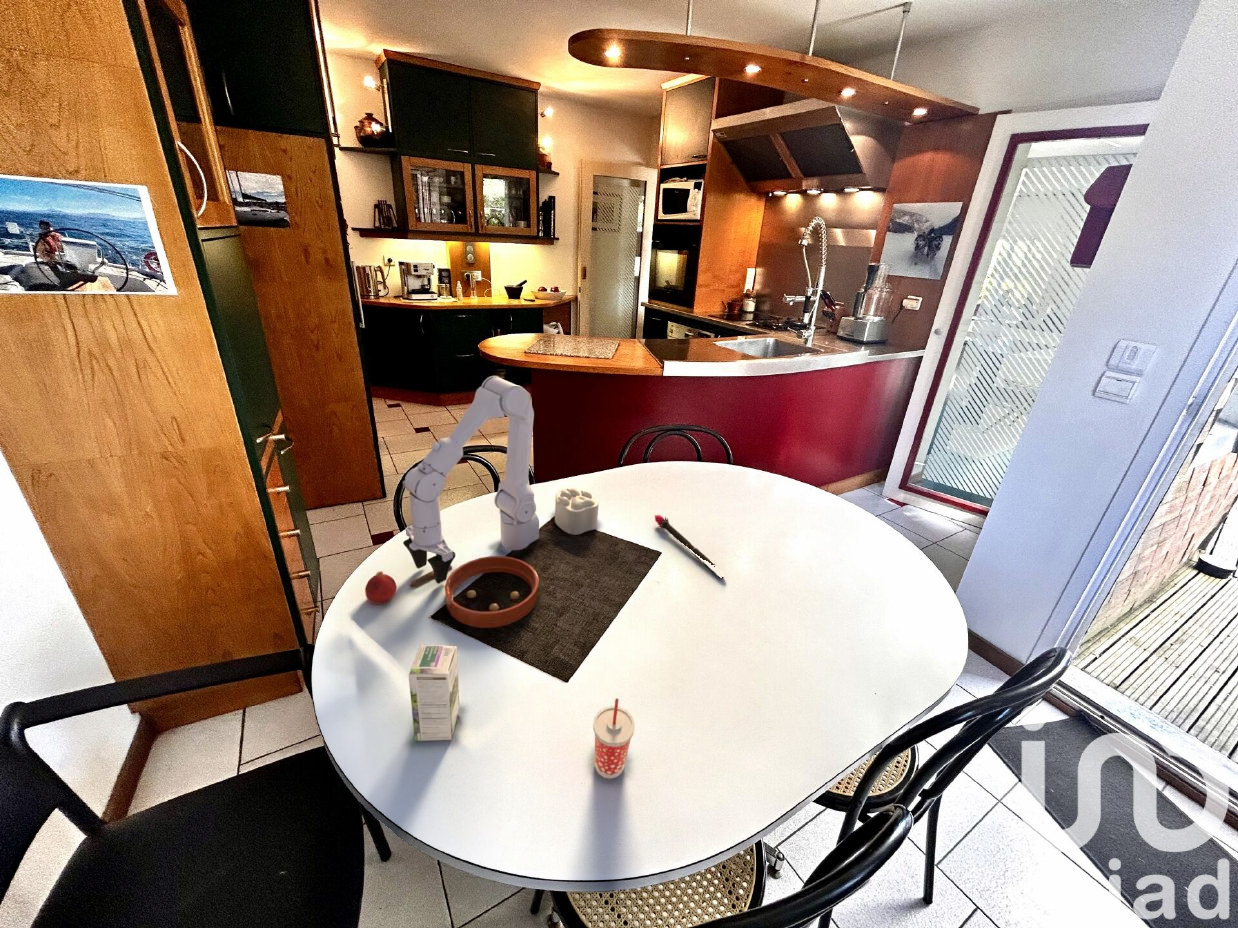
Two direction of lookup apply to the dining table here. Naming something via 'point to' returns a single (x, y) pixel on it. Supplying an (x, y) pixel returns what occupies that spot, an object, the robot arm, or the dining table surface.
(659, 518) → the wand
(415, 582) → the stick
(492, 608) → the bead
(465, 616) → the bowl
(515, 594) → the bead
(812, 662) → the dining table surface
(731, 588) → the dining table surface
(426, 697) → the syrup box
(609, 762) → the beverage cup
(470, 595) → the bead
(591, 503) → the lumpy-topped squat cylinder
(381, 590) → the red round piece
